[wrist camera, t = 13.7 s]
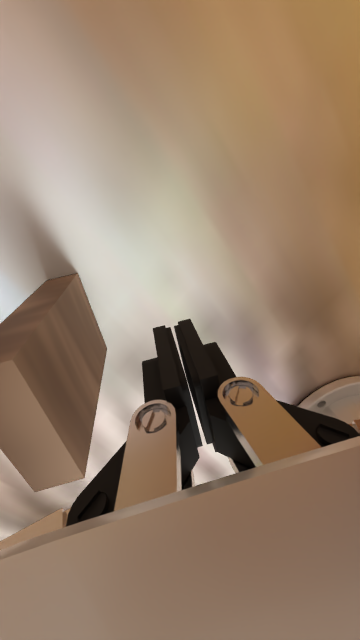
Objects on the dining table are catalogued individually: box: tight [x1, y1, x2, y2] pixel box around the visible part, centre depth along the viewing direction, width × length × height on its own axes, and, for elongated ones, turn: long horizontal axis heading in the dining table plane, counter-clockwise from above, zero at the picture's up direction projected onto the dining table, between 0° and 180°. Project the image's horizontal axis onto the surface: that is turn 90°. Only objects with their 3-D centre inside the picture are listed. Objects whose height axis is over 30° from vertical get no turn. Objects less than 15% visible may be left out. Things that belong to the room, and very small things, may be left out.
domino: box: [0, 273, 107, 492], centre depth 13 cm, size 2×6×10 cm, turn 11°
